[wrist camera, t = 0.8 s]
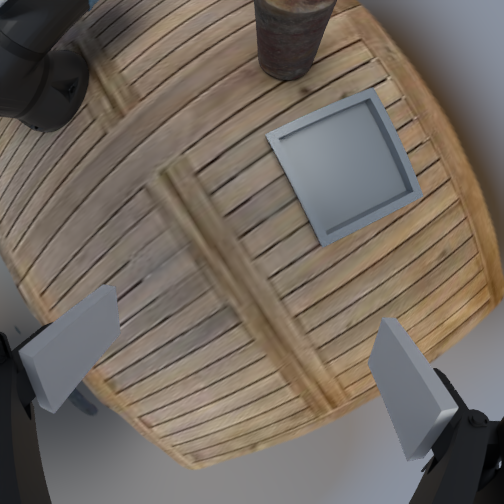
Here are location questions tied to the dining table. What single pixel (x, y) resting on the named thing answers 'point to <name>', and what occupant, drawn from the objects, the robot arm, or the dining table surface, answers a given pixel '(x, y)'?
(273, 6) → the brown rough cylinder
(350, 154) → the tray
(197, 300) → the dining table surface
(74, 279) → the dining table surface
